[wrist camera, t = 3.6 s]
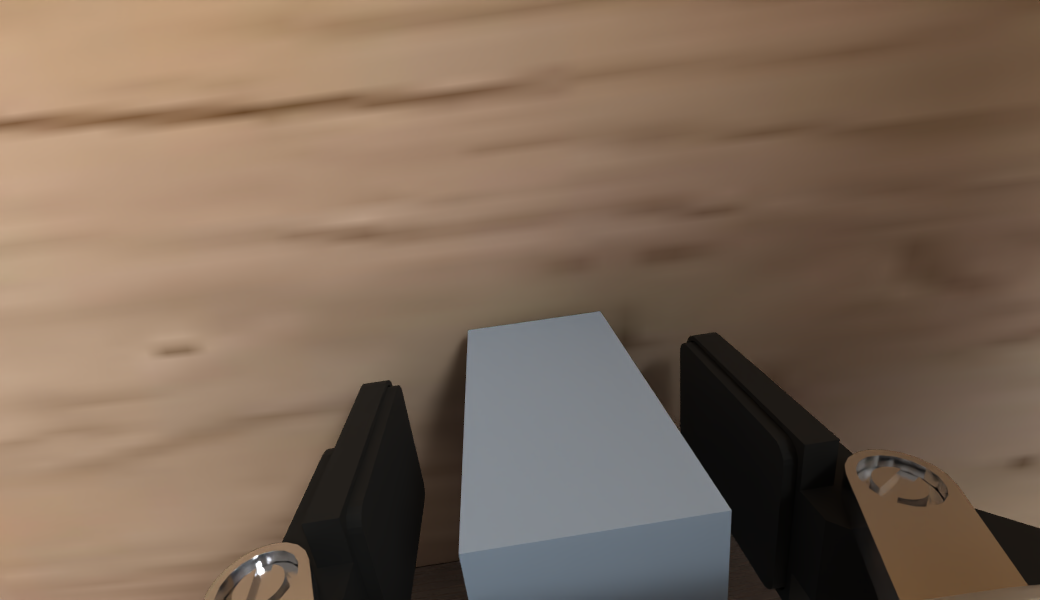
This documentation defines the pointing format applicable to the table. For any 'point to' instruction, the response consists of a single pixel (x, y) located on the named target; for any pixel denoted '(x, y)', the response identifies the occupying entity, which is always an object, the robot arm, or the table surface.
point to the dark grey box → (445, 596)
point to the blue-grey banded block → (580, 475)
